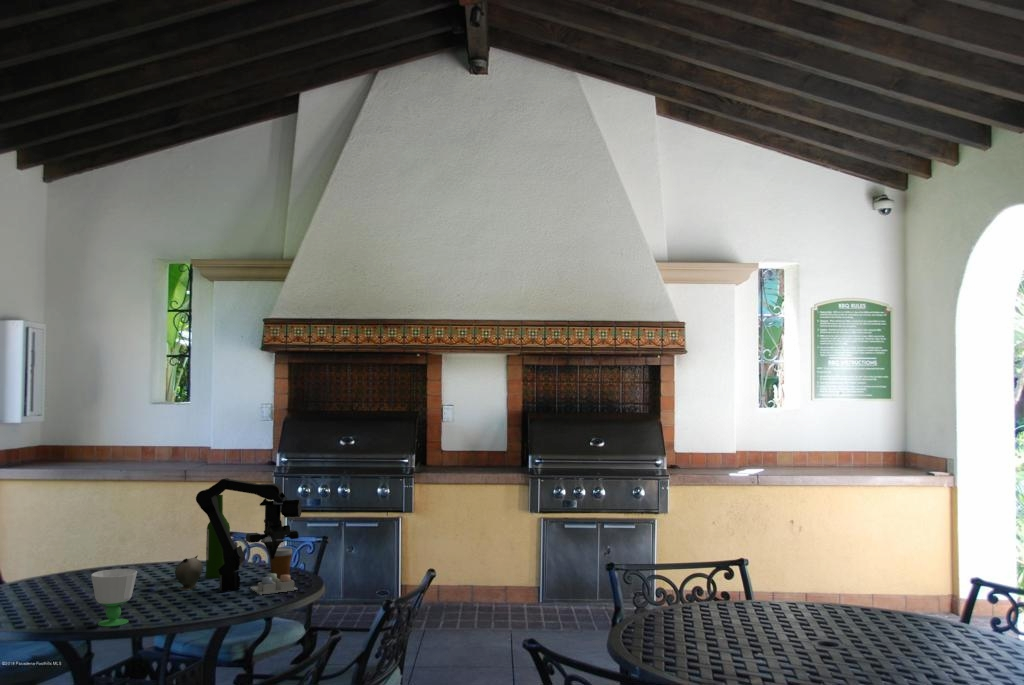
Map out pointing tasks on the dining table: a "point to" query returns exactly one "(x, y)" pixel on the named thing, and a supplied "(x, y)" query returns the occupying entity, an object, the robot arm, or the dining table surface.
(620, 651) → the dining table surface
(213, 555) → the wine bottle
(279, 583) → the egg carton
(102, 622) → the cup
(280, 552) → the disposable coffee cup
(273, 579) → the sage button
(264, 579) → the slate button
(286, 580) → the terracotta button
